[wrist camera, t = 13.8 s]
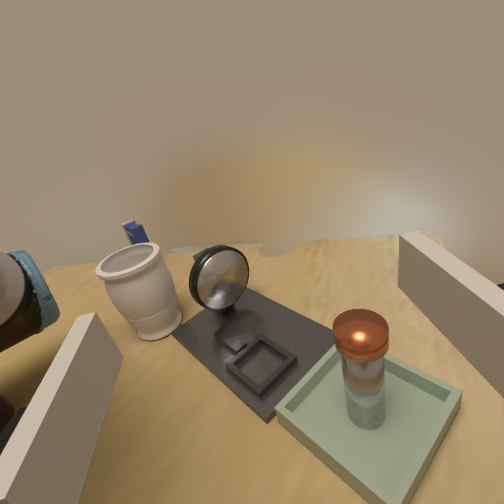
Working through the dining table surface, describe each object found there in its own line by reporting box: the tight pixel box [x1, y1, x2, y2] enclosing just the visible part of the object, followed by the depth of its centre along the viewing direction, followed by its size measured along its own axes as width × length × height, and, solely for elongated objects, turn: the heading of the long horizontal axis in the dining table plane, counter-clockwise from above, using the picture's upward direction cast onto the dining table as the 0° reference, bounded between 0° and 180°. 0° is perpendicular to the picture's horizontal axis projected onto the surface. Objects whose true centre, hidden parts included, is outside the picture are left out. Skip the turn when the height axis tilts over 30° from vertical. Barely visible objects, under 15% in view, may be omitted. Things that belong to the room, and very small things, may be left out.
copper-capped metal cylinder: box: [333, 309, 389, 430], centre depth 31 cm, size 5×5×13 cm
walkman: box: [121, 220, 150, 245], centre depth 78 cm, size 8×3×12 cm, turn 41°
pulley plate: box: [171, 245, 335, 424], centre depth 46 cm, size 24×16×14 cm, turn 42°
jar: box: [96, 243, 182, 341], centre depth 54 cm, size 11×10×15 cm
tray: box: [274, 344, 463, 504], centre depth 34 cm, size 14×14×3 cm
